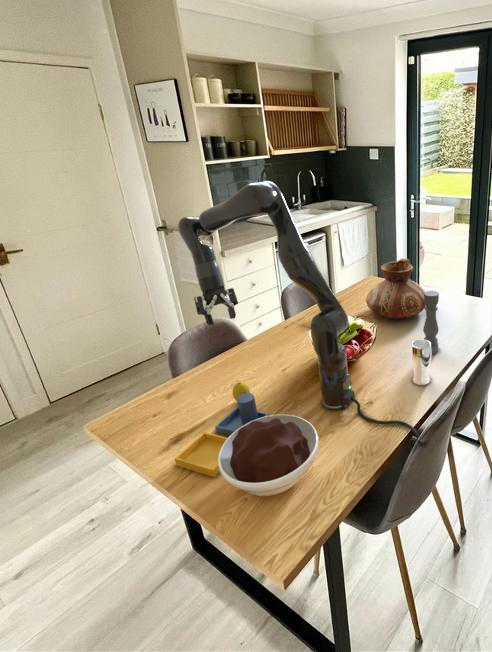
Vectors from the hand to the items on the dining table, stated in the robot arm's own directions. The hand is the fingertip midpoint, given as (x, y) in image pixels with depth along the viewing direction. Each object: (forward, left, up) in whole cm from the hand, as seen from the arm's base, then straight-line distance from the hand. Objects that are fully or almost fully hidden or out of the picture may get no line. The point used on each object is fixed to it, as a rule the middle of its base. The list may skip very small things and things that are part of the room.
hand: (222, 321), depth 136 cm
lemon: (-11, +9, -25) cm, 28 cm away
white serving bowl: (-39, +32, -25) cm, 56 cm away
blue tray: (-19, +19, -24) cm, 36 cm away
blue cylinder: (-20, +17, -24) cm, 36 cm away
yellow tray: (-18, +33, -24) cm, 45 cm away
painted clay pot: (-38, -75, -25) cm, 87 cm away
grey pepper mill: (-63, -43, -25) cm, 80 cm away
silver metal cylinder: (-65, -21, -25) cm, 72 cm away
